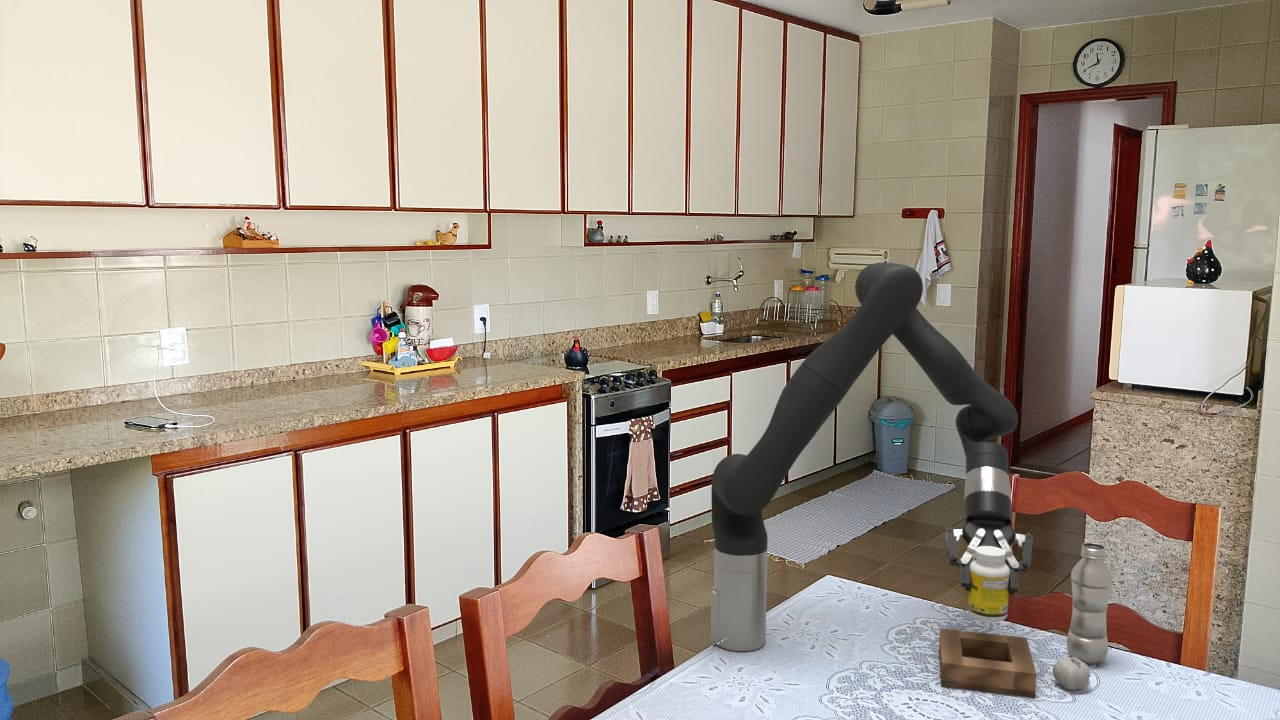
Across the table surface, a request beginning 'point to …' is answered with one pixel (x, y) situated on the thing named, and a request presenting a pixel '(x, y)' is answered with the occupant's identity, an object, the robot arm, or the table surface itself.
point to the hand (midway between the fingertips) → (989, 590)
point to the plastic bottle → (1089, 606)
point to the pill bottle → (989, 585)
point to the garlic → (1071, 673)
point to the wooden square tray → (986, 663)
